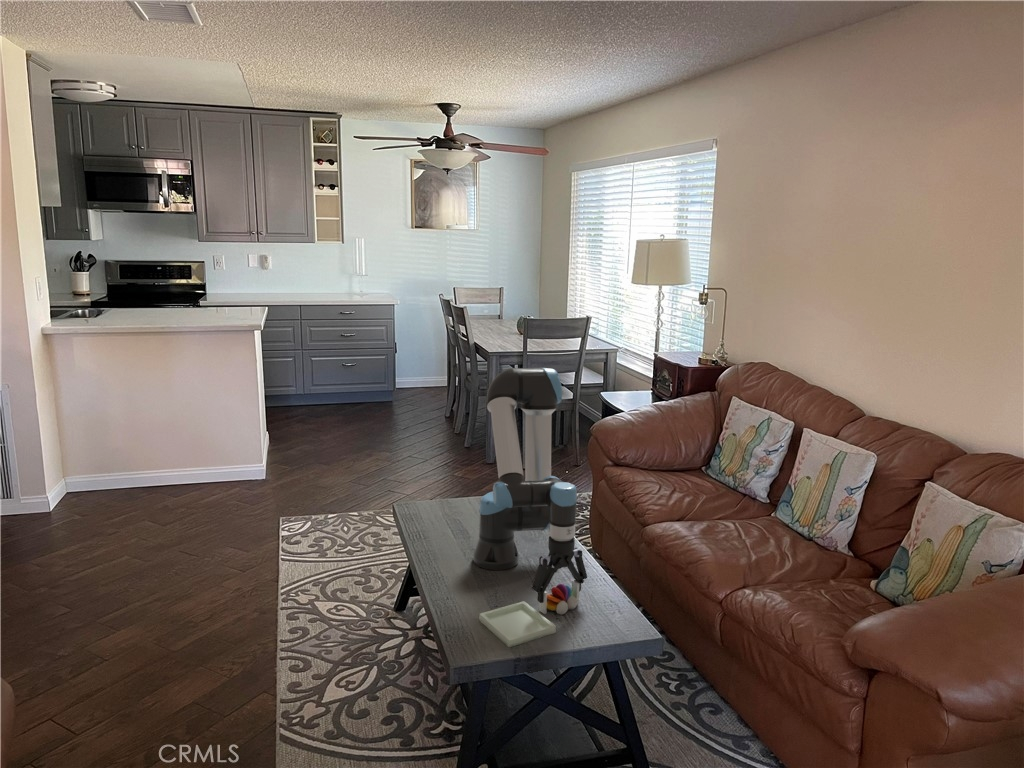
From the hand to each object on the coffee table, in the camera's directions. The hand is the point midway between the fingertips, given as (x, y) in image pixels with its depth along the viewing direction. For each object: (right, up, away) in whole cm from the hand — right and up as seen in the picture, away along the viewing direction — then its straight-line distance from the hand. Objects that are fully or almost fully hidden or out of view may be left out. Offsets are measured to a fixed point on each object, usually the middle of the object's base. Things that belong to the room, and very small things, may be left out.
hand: (558, 606), depth 213 cm
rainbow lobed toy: (0, -1, 0) cm, 1 cm away
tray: (-12, -2, -11) cm, 17 cm away
